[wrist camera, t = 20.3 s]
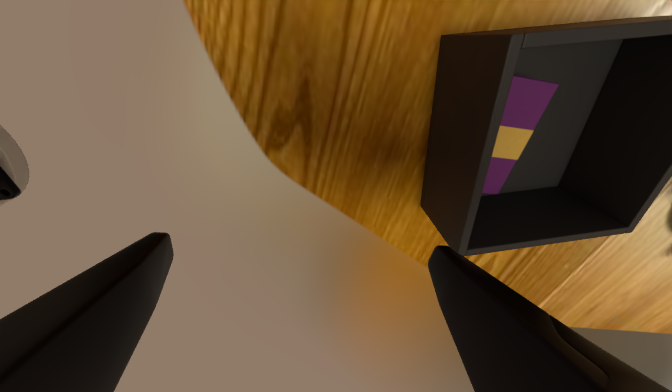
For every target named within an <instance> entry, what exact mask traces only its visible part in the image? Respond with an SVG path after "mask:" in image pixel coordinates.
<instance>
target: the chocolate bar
mask: <svg viewBox="0 0 672 392" xmlns="http://www.w3.org/2000/svg"><path fill="white" fill-rule="evenodd" d="M558 86H559V84H558V83H552V82H547V81H542V80H536V79H531V78H526V77H521V76H515V75H514V76H513V79H512V83H511V87H510V90H509V94H508V98H507V102H506V105H505V109H504V113H503V116H502V120H501V124H500V128H499V131H498V135H497V139H496V142H495V146H494V150H493V154H492V157H491V161H490V165H489V168H488V172H487V176H486V180H485V183H484V187H483V191H482V193H489V194H498V193H499V191H500V189H501V187H502V186H503V184H504V182H505V180H506V179H507V177H508V175H509V173H510V171H511V170H512V168H513V166H514V164H515V162H516V161H517V160H518V158H519V156H520V154H521V153H522V151H523V149H524V147H525V146H526V144H527V142H528V140H529V138H530V137H531V135H532V133H533V131H534V129H535V127H536V125H537V123H538V121H539V120H540V118H541V116H542V114H543V112H544V111H545V109H546V107H547V105H548V104H549V102H550V100H551V98H552V96H553V95H554V93H555V91H556V89H557V87H558Z"/></svg>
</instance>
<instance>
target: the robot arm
mask: <svg viewBox="0 0 672 392" xmlns="http://www.w3.org/2000/svg"><path fill="white" fill-rule="evenodd" d="M20 194H21V190H20V189H19V187H18V186H17V185H16V184H15V183H14V181H13V180H12V179H11V178H10V177H9V176H8V174H7V173H6V172H5V171H4V170H3V169H2V167H1V166H0V200H8V199H13V198H15V197H17V196H19V195H20ZM172 260H173V248H172V244H171V238H170V235H169V234H168V233H160V232H158V233H157V232H154V233H151V234H149V235H147V236H145V237H144V238H142V239H140V240H138V241H137V242H135V243H133V244H131V245H130V246H128V247H126V248H124V249H123V250H121V251H119V252H117V253H116V254H114V255H112V256H110V257H109V258H107V259H105V260H103V261H102V262H100V263H98V264H96V265H95V266H93V267H91V268H89V269H88V270H86V271H84V272H82V273H81V274H79V275H77V276H75V277H74V278H72V279H70V280H68V281H67V282H65V283H63V284H61V285H60V286H58V287H56V288H54V289H52V290H51V291H49V292H47V293H46V294H44V295H42V296H40V297H39V298H37V299H35V300H33V301H32V302H30V303H28V304H26V305H24V306H23V307H21V308H19V309H18V310H16V311H14V312H12V313H10V314H9V315H7V316H5V317H4V318H2V319H0V392H114V390H115V388H116V386H117V384H118V382H119V380H120V378H121V376H122V374H123V372H124V370H125V368H126V366H127V364H128V362H129V360H130V358H131V356H132V354H133V352H134V350H135V348H136V346H137V344H138V342H139V340H140V338H141V336H142V334H143V332H144V330H145V328H146V326H147V324H148V321H149V319H150V317H151V316H152V313H153V311H154V309H155V307H156V304H157V302H158V299H159V297H160V294H161V291H162V288H163V285H164V282H165V280H166V277H167V274H168V272H169V269H170V266H171V263H172ZM428 268H429V272H430V275H431V278H432V282H433V285H434V288H435V292H436V295H437V299H438V302H439V305H440V307H441V310H442V313H443V315H444V317H445V320H446V323H447V325H448V327H449V330H450V332H451V335H452V337H453V340H454V342H455V344H456V347H457V349H458V352H459V354H460V357H461V359H462V362H463V364H464V366H465V369H466V371H467V374H468V376H469V379H470V381H471V384H472V386H473V389H474V391H475V392H672V391H670V390H668V389H667V388H665V387H663V386H662V385H660V384H658V383H656V382H655V381H653V380H652V379H650V378H649V377H647V376H645V375H644V374H642V373H640V372H639V371H637V370H635V369H634V368H632V367H631V366H629V365H627V364H626V363H624V362H623V361H621V360H619V359H618V358H616V357H614V356H613V355H611V354H610V353H608V352H606V351H605V350H603V349H602V348H600V347H598V346H597V345H595V344H594V343H592V342H590V341H589V340H587V339H586V338H584V337H583V336H581V335H579V334H578V333H576V332H575V331H573V330H572V329H570V328H569V327H567V326H566V325H564V324H563V323H561V322H560V321H558V320H557V319H555V318H554V317H553V316H551V315H549V314H548V313H546V312H545V311H544V310H542V309H541V308H539V307H538V306H536V305H535V304H533V303H532V302H530V301H529V300H527V299H526V298H524V297H523V296H521V295H520V294H518V293H517V292H515V291H514V290H512V289H511V288H509V287H508V286H506V285H505V284H504V283H502V282H501V281H499V280H498V279H496V278H495V277H493V276H492V275H490V274H489V273H487V272H486V271H484V270H483V269H481V268H480V267H478V266H477V265H475V264H474V263H472V262H471V261H469V260H468V259H466V258H465V257H464V256H462V255H461V254H459V253H458V252H456V251H455V250H453V249H452V248H450V247H449V246H440V245H439V246H436V247H435V249H434V251H433V253H432V255H431V257H430V259H429V261H428Z"/></svg>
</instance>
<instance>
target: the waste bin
mask: <svg viewBox="0 0 672 392" xmlns="http://www.w3.org/2000/svg"><path fill="white" fill-rule="evenodd" d="M514 75H515V76H521V77H526V78H531V79H536V80H542V81H547V82H552V83H558V84H559V86H558V87H557V89H556V91H555V93H554V95H553V96H552V98H551V100H550V102H549V104H548V105H547V107H546V109H545V111H544V112H543V114H542V116H541V118H540V120H539V121H538V123H537V125H536V127H535V129H534V131H533V133H532V135H531V137H530V138H529V140H528V142H527V144H526V146H525V147H524V149H523V151H522V153H521V154H520V156H519V158H518V160H517V161H516V162H515V164H514V166H513V168H512V170H511V171H510V173H509V175H508V177H507V179H506V180H505V182H504V184H503V186H502V187H501V189H500V191H499V193H498V194H489V193H482V191H483V187H484V183H485V180H486V176H487V172H488V168H489V165H490V161H491V157H492V154H493V150H494V146H495V142H496V139H497V135H498V131H499V128H500V124H501V120H502V116H503V113H504V109H505V105H506V102H507V98H508V94H509V90H510V87H511V83H512V79H513V76H514ZM671 176H672V16H655V17H638V18H625V19H614V20H603V21H592V22H581V23H570V24H559V25H548V26H537V27H526V28H515V29H504V30H493V31H482V32H471V33H460V34H449V35H442V36H441V44H440V52H439V60H438V69H437V77H436V85H435V93H434V101H433V109H432V117H431V125H430V134H429V142H428V150H427V158H426V166H425V174H424V182H423V190H422V198H421V207H422V208H423V210H424V211H425V213H426V214H427V215H428V217H429V218H430V220H431V221H432V223H433V224H434V225H435V227H436V228H437V230H438V231H439V232H440V234H441V235H442V237H443V238H444V239H445V241H446V242H447V244H448V245H449V246H450V248H452V249H453V250H455V251H456V252H458V253H459V254H461V255H462V256H470V255H477V254H484V253H491V252H498V251H505V250H512V249H519V248H526V247H533V246H540V245H547V244H554V243H561V242H568V241H575V240H582V239H589V238H596V237H603V236H610V235H617V234H624V233H630V232H632V231H633V230H634V228H635V227H636V226H637V224H638V223H639V221H640V220H641V218H642V217H643V216H644V214H645V213H646V211H647V210H648V208H649V207H650V206H651V204H652V203H653V201H654V200H655V199H656V197H657V196H658V194H659V193H660V191H661V190H662V189H663V187H664V186H665V184H666V183H667V181H668V180H669V179H670V177H671Z"/></svg>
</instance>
